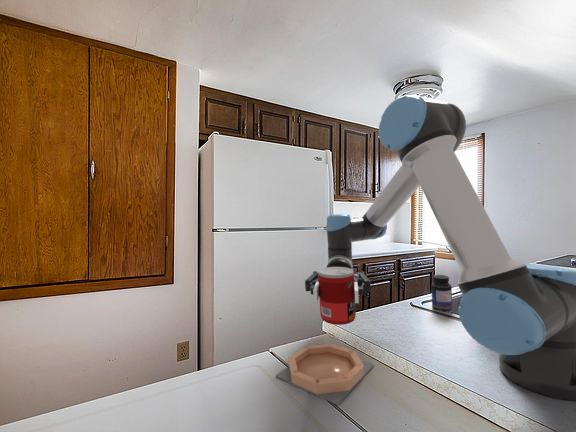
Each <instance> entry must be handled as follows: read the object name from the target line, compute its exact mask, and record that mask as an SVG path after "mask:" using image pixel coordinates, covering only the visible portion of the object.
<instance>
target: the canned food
mask: <svg viewBox="0 0 576 432" xmlns="http://www.w3.org/2000/svg"><path fill="white" fill-rule="evenodd" d="M326 267H327V266H326ZM326 267H323V268H320V269H319V270H318V271H317V273H318V281H319V310H320V311H319V312H320V317H321V320H322V321H323V322H325V323H327V324H330V325H337V326H339V325H340V326H342V325H348V324H351V323H352V322H354V321H355V319H356V314H357V313H356V312H357V311H356V309H357V308H356V303H355V290H354V285H355V284H354V273H355V272H354V269H353V270H352V269H350V268H346V267H327V268H326Z"/></svg>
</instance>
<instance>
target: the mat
mask: <svg viewBox="0 0 576 432" xmlns="http://www.w3.org/2000/svg"><path fill="white" fill-rule="evenodd" d="M361 362H362V363H363V365H364V376H363V377H362V378H361V379H360V380H359V381H358V382H357V383H356V384H355V385H354V386H353V387H352V388H351V390H350V391H341V392H332V393H323V394H316V393H314V392H311V391H309V390H307V389H305V388H303V387H300V386H298V385H296V384H294V383H292V381H291V375H290V369H289V365H288V366H287V367H285V368H284V369H282V370H281V371H280V372H278V373H277V374H275V378H277V379H279V380H282V381H283V382H286V383H289V384H290V385H292V386H294V387H297V388H298V389H301V390H303V391H305V392H308V393H310V394H311V395H315V397H316V396H317V397H318V398H320V399H323V400H325V401H327V402H329V403H331V404H334V405H336V406H339V405H340V403H341V402H342V401H344V399H345V398H346V397H347V396H348V395H349V394H350V393H351V392H352V390H354V388H355V387H356V386H357V385H358V384H359V383H360V382H361V381H362V380H363V379H364V378H365V376H367V374H368V373H370V371H371V370H372V369H373V368H374V364H371V363H368V362H367V361H362V360H361Z"/></svg>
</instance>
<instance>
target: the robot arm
mask: <svg viewBox="0 0 576 432" xmlns="http://www.w3.org/2000/svg"><path fill="white" fill-rule="evenodd" d="M466 129H467V121H466V117H465V114H464V112H463V111H462V110H461V108H460V107H458V106H457V105H456V104H454V103H451V102H449V101H442V100H437V99H432V98H429V97H428V98H427V97H423V96H420V95H416V94H415V95H410V94H409V95H406V94H405V95H402V96H399V97H397V98H396V99H395V98H394V100H393V101H391V102H390V103H389V104H388V105H387V107H386V108H385V110H384V111H383V113H382V115H381V118H380V122H379V125H378V137H379V141H380V143H381V144H382V146H383V147H384V148H386V149H388V151H389V150H390V151H392V152H396V154H397V156H398V158H399V161H400V163H401V165H400V167H399V168H398V169H397V171H396V172H395V174H394V175H393V176H392V177H391V179H390V180H389V182H387V184H386V185H385V186H384V188H383V190H382V191H381V192H380V193H379V195H378V197H377V198H376V199H375V200H374V201H373V203H372V204H371V206H370V207H369V208H368V209H367V210H366V212H365V213H364V214H363V216H362V217H357V218H351V215H350V214H349V213H337V214H336V213H335V214H334V213H333V214H329V215H328V216H326V227H325V229H326V236H327V237H326V238H327V239H326V240H327V258H328V259H327V261H328V262H327V264H326V267H325V268H327V267H346V268H350V269H352V270H353V271H354V269H353V265H354V264H353V251H352V249H353V244H352V243H355V242H360V241H361V242H362V241H369V240H376V239H379V238H382V237H384V236H385V235H386V234H387V230H388V225H387V224H388V223H389V222H390V221H391V219H393V217H395V215H396V214H397V213H398V212H399V210H400V209H401V208H402V207H403V206H404V205H405V203H406V202H407V201H408V200H409V199H410V198H411V197H412V195H414V193H415V192H416V191H417V190H418V189H419V188H421V189H422V192H423V194H424V196H425V198H426V200H427V202H428V205H429V206H430V208H431V210H432V213H433V215H434V217H435V219H436V222H437V224H438V225H439V228H440V230H441V232H442V234H443V236H444V238H445V240H446V242H447V245H448V247H449V249H450V251H451V253H452V255H453V258H454V259H455V262H456V263H457V266H458V268H459V270H460V274H459V277H458V279H457V282H456V283H457V285H458V288H459V291H460V292H461V295H462V297H461V299H460V300H459V303H460V304H459V306H458V316H459V320H460V322H461V324H462V326H463V328H464V329H465V331H466V332H467V333H468V334H469V336H470V337H471V338H472V339H473V340H474V341H475V342H477V343H478V344H480V345H481V346H484V348H487V349H488V350H490V351H491V352H494V353H498V354H499V357H498V358H499V361H498V364H499V369H501V370H500V372H501V373H502V372H503V373H504V374H505V375H506V376H507V377H508V378H507V377H506V376H505V375H504V374H503V373H502V374H503V375H504V376H505V377H506V378H507V379H509V380H510V381H512V382H513V383H515V384H516V383H517V385H518V384H519V385H518V386H520V385H521V386H520V387H522V386H523V388H524V387H525V388H524V389H527V390H529V391H532V392H534V393H537V394H539V393H540V395H543V396H547V397H550V398H556V399H560V400H566V401H567V400H569V401H576V270H574V269H572V268H571V269H570V268H565V267H559V266H551V265H541V264H531V263H525V262H522V261H521V260H517V259H514V258H512V256H511V255H510V254H509V252H508V250H507V248H506V247H505V244H504V243H503V241H502V238H501V237H500V236H499V233H498V231H497V229H496V227H495V226H494V224H493V221H492V220H491V218H490V216H489V214H488V213H487V211H486V209H485V207H484V205H483V204H482V202H481V199H480V198H479V196H478V194H477V192H476V190H475V188H474V186H473V184H472V183H471V181H470V179H469V177H468V175H467V174H466V172H465V170H464V168H463V166H462V164H461V162H460V160H459V158H458V157H457V155H456V151H457V149H458V148H459V147H460V145H461V144H462V142H463V139H464V137H465V134H466ZM354 284H355V285H354V290H355V304H359V303H360V301H359V300H360V299H359V298H360V297H359V296H363V295H364V292H367V293H370V292H372V291H371V287H372V286H371V280H370V279H369V278H368V277H367V275H365V271H364V270H361V271H359V272H357V273H355V272H354ZM304 285H305V286H304V288H305V291H306V292H309V293H310V295H312V296H313V303H318V301H319V300H320V298H319V281H318V271H316V270H315V271H312V274H311V275H310V276H308V277H307V279H305V280H304Z"/></svg>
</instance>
